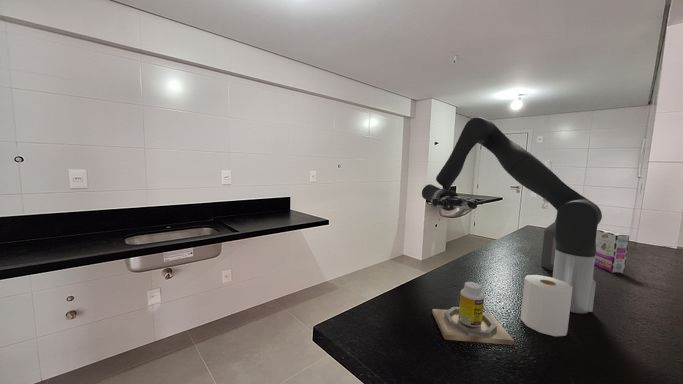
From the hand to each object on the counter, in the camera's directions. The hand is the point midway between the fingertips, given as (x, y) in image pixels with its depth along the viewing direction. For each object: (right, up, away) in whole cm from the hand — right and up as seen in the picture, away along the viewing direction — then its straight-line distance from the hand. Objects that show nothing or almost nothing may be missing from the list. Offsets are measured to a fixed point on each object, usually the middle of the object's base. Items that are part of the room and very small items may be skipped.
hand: (460, 205), depth 85 cm
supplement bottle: (-4, -30, -15) cm, 34 cm away
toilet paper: (+17, -32, -13) cm, 38 cm away
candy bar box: (+79, -30, +32) cm, 90 cm away
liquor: (+55, -29, +30) cm, 69 cm away
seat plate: (-4, -31, -15) cm, 35 cm away
